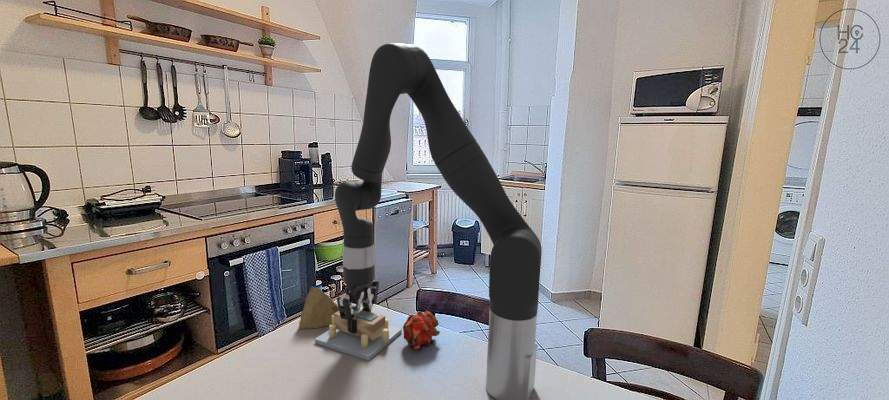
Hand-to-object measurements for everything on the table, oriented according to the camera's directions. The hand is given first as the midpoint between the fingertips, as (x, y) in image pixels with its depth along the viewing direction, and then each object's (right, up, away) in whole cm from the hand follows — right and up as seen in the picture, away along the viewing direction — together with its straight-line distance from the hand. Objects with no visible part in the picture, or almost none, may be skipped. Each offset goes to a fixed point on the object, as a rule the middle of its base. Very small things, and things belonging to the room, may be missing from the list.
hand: (359, 327), depth 95 cm
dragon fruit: (+15, -4, -2) cm, 16 cm away
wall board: (0, -3, 0) cm, 3 cm away
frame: (0, -1, 0) cm, 1 cm away
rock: (-11, -2, +7) cm, 13 cm away
